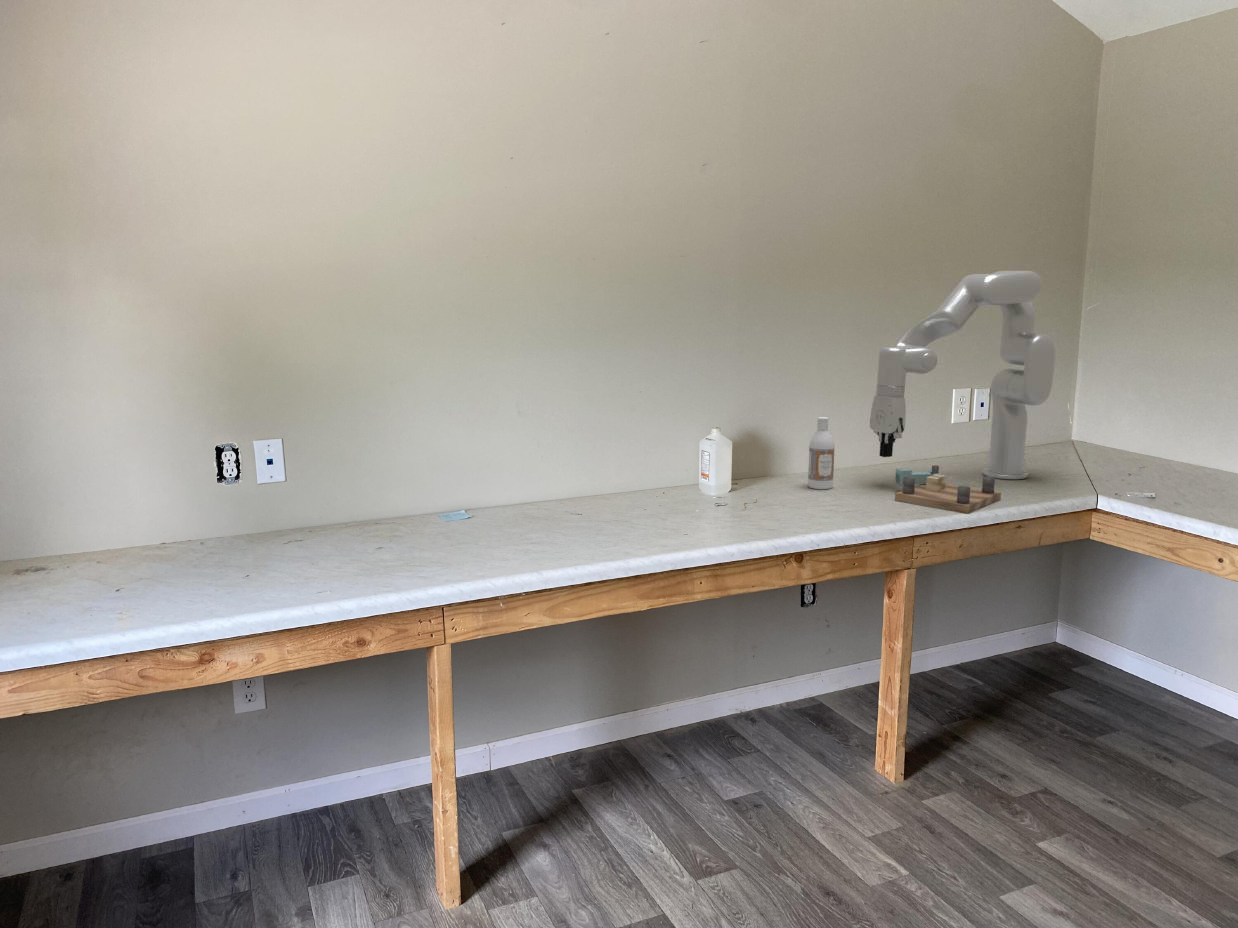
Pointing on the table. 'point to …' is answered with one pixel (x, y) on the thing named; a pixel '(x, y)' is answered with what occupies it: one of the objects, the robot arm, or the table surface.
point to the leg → (912, 475)
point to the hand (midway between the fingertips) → (885, 456)
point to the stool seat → (948, 493)
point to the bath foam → (821, 457)
